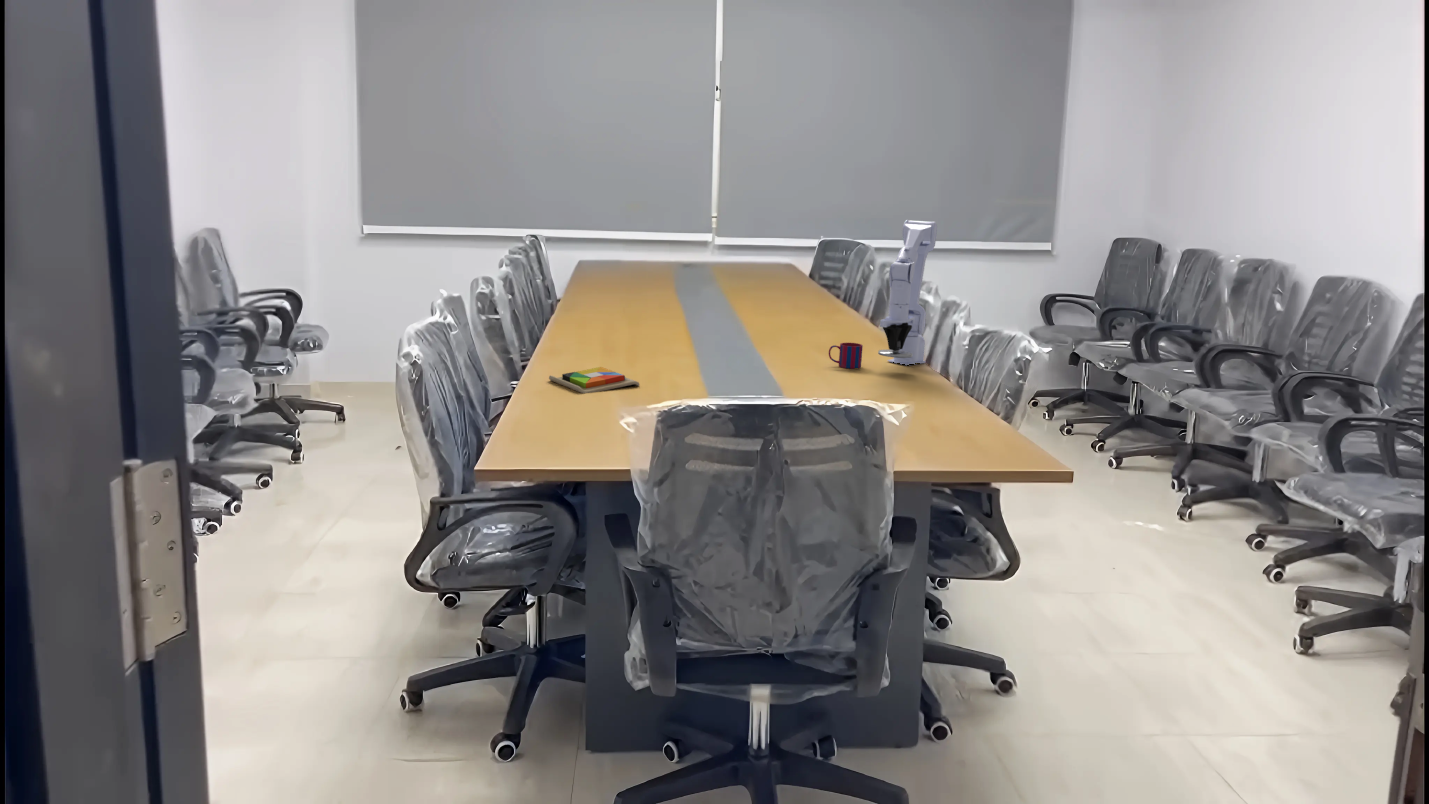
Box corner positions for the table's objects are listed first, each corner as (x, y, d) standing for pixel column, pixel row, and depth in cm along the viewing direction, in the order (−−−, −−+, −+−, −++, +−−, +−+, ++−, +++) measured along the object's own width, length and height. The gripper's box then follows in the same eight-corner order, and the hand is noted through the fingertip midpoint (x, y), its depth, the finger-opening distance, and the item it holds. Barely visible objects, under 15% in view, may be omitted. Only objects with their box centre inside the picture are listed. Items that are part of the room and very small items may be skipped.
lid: (892, 350, 328) (893, 336, 327) (919, 356, 321) (920, 341, 320) (871, 353, 321) (872, 339, 320) (898, 358, 314) (899, 344, 313)
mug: (861, 369, 324) (863, 347, 323) (827, 367, 325) (829, 345, 323) (860, 365, 331) (862, 343, 329) (827, 363, 331) (829, 341, 330)
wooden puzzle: (546, 382, 291) (546, 369, 290) (606, 375, 303) (607, 363, 302) (579, 395, 278) (580, 382, 277) (641, 388, 289) (641, 375, 288)
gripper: (903, 299, 325) (899, 344, 328) (873, 303, 315) (869, 349, 319) (922, 303, 320) (918, 348, 323) (892, 306, 310) (888, 353, 314)
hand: (895, 349), depth 321 cm, fingers closed on lid, 3 cm apart
